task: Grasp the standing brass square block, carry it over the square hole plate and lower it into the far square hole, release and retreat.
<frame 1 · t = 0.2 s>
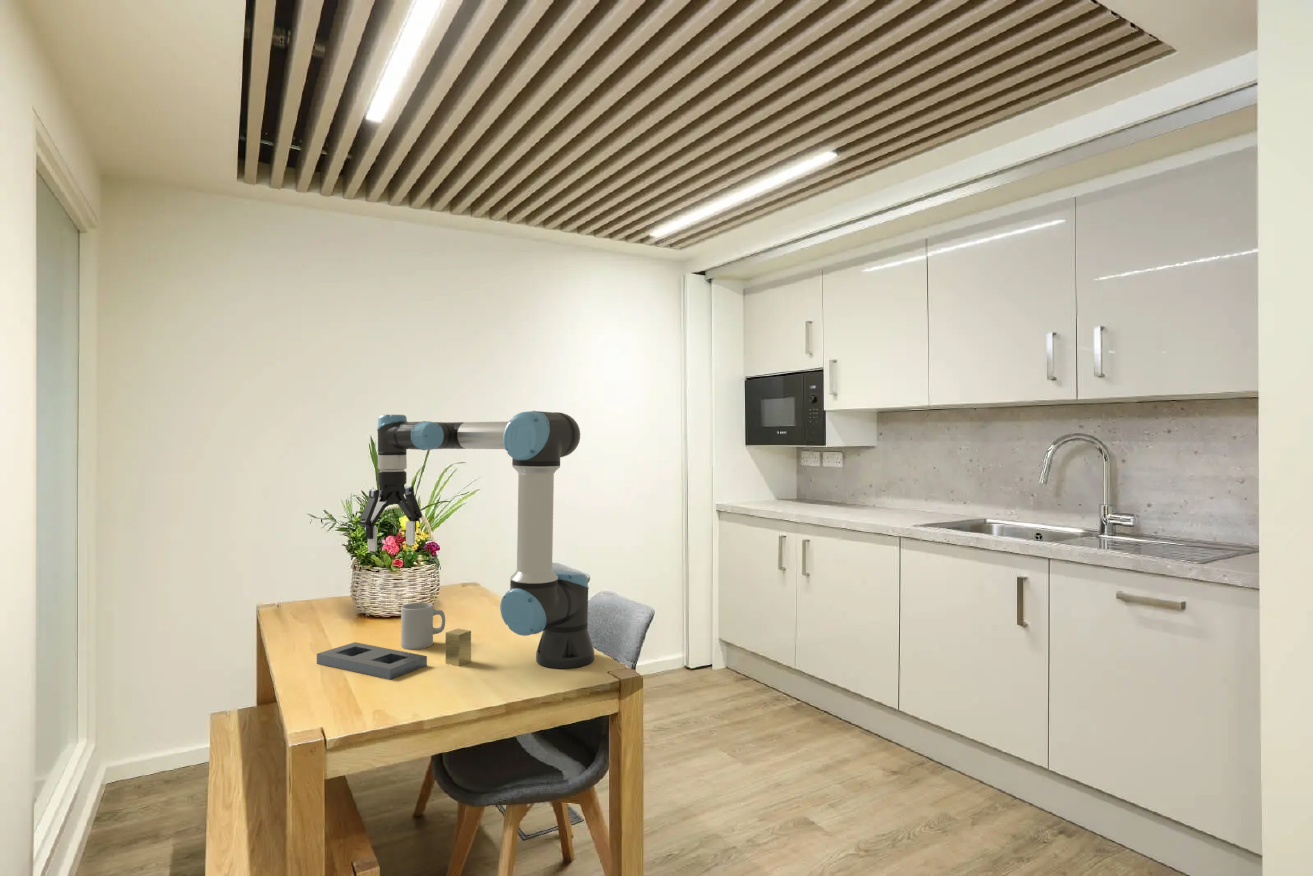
hand: (391, 547, 207), 27 cm above the table, fingers open, 13 cm apart
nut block: (458, 662, 194), on the table
mug: (423, 645, 210), on the table
square hole plate: (371, 664, 192), on the table
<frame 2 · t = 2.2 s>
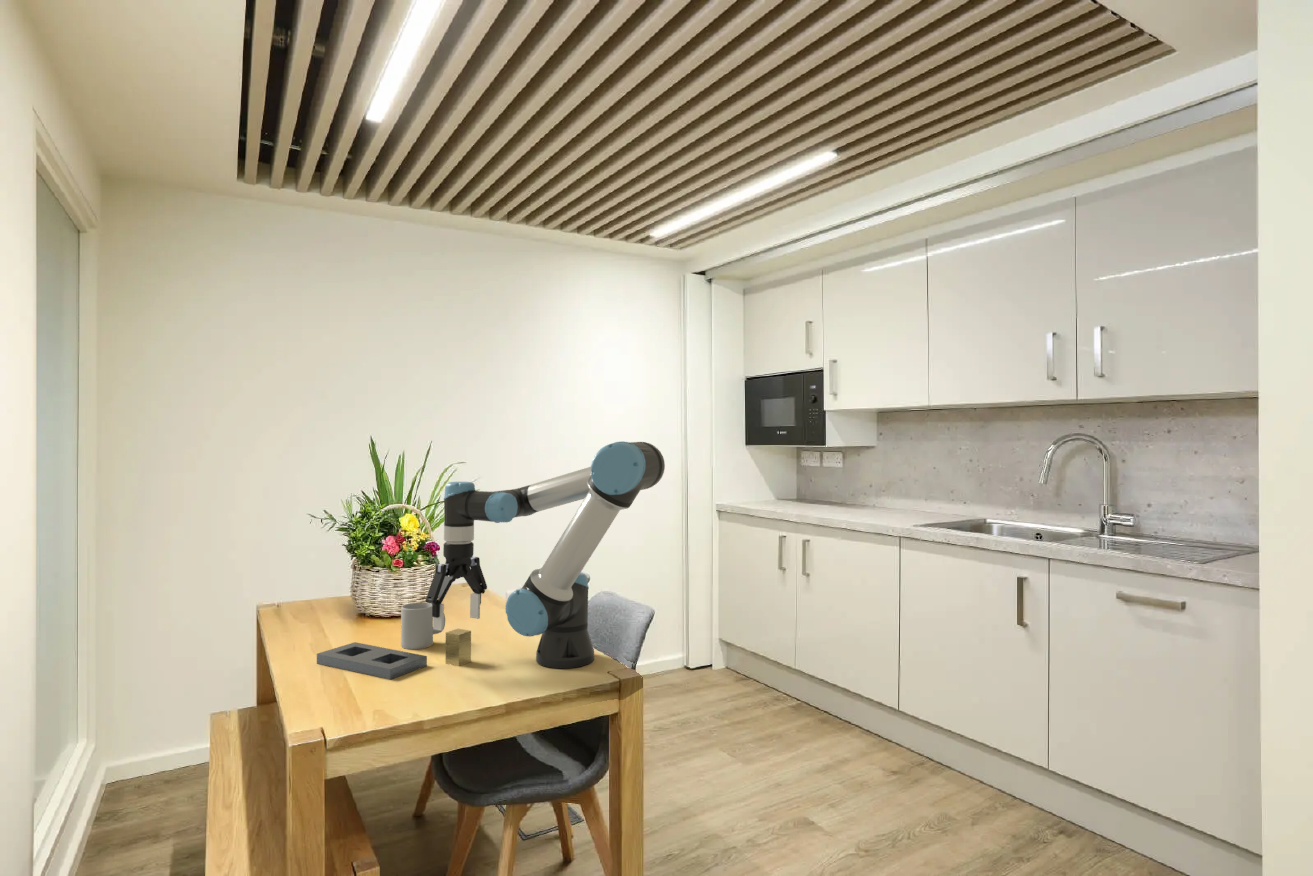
hand: (457, 623, 194), 10 cm above the table, fingers open, 13 cm apart
nothing on the table moved.
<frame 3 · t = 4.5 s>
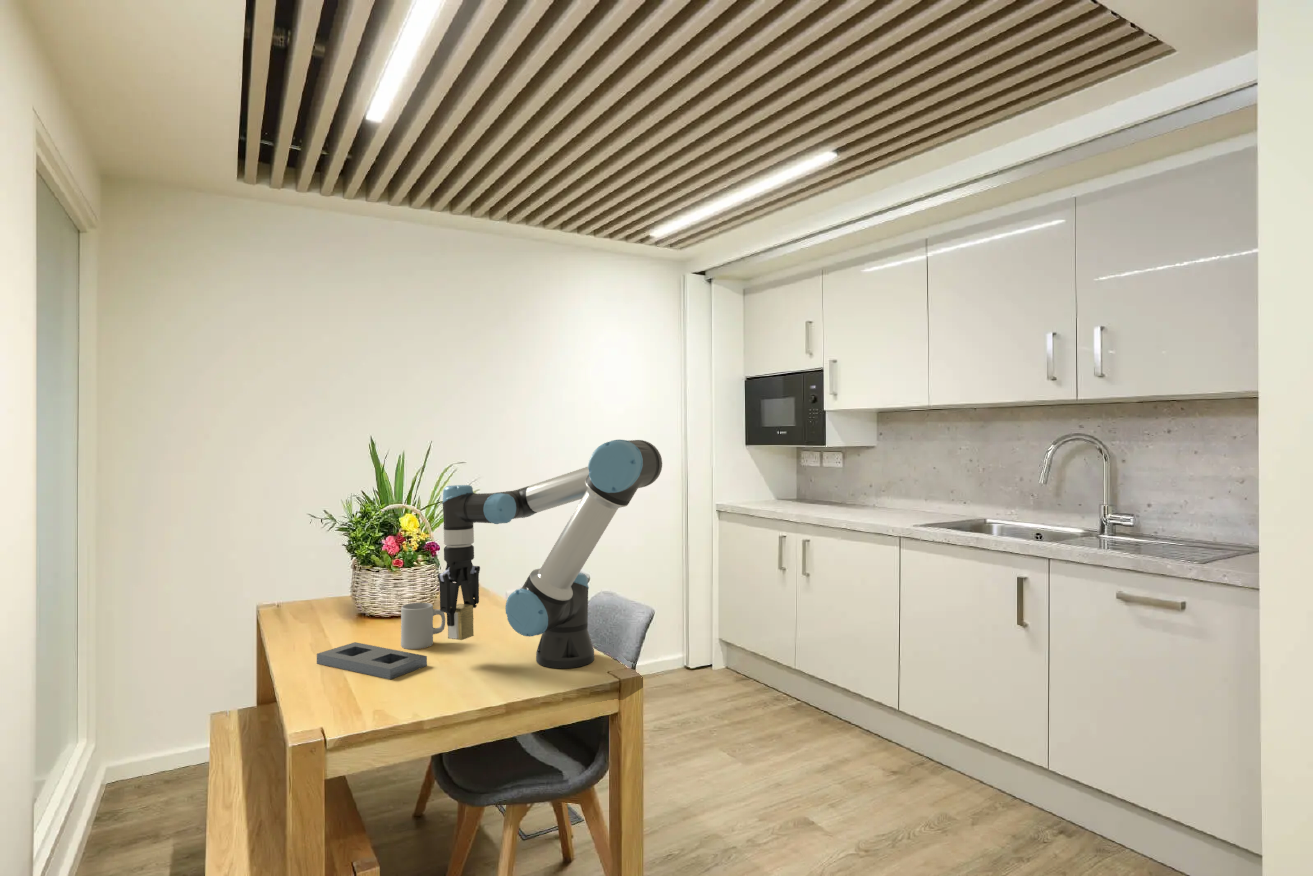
hand: (460, 635, 194), 7 cm above the table, fingers closed on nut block, 4 cm apart
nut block: (460, 637, 194), point 7 cm above the table, touching gripper
everything else where it was.
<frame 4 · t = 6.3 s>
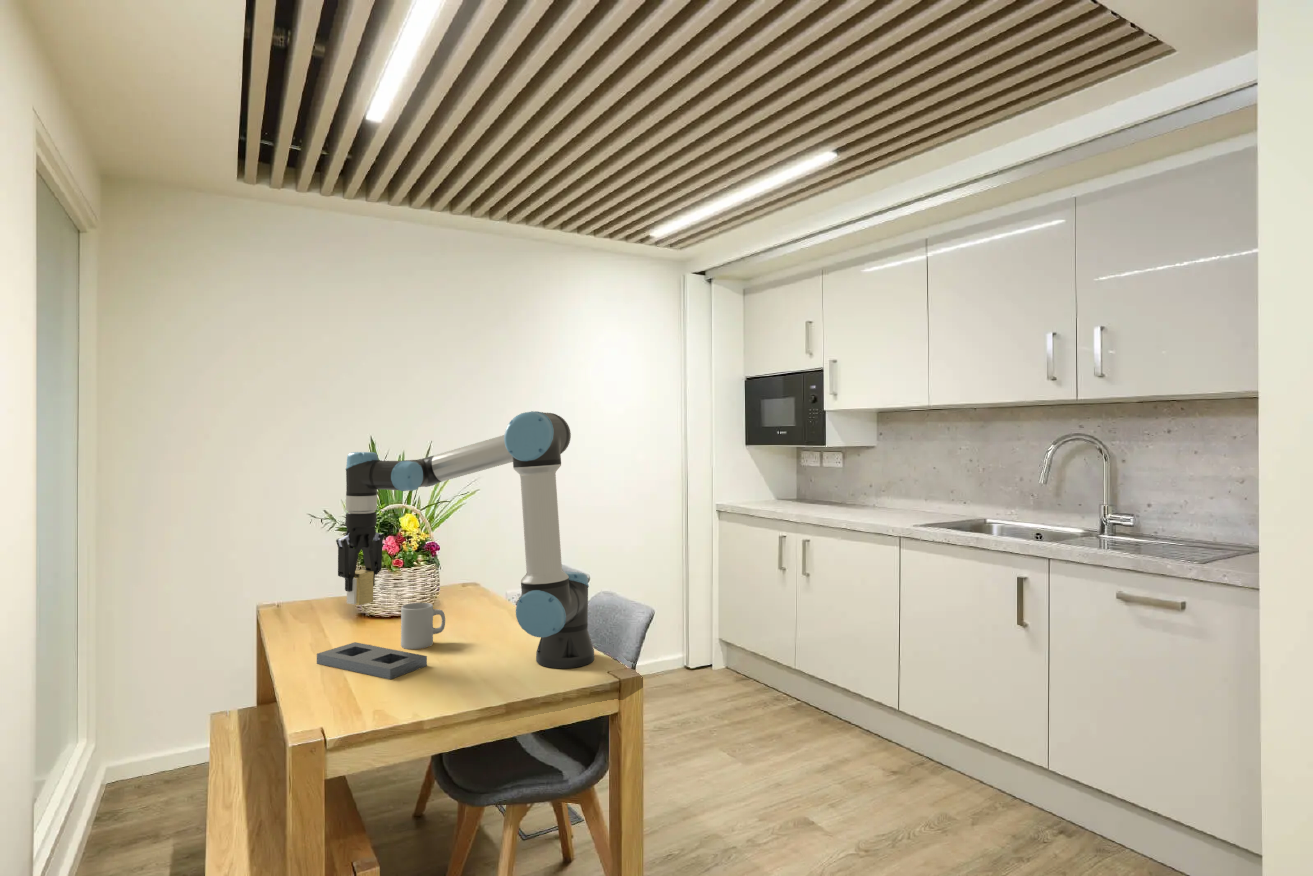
hand: (359, 601, 195), 15 cm above the table, fingers closed on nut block, 4 cm apart
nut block: (360, 602, 195), point 15 cm above the table, touching gripper
everything else where it was.
when the fingers open (3 cm above the table, at t = 8.4 s): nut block drops 3 cm, resting in square hole plate.
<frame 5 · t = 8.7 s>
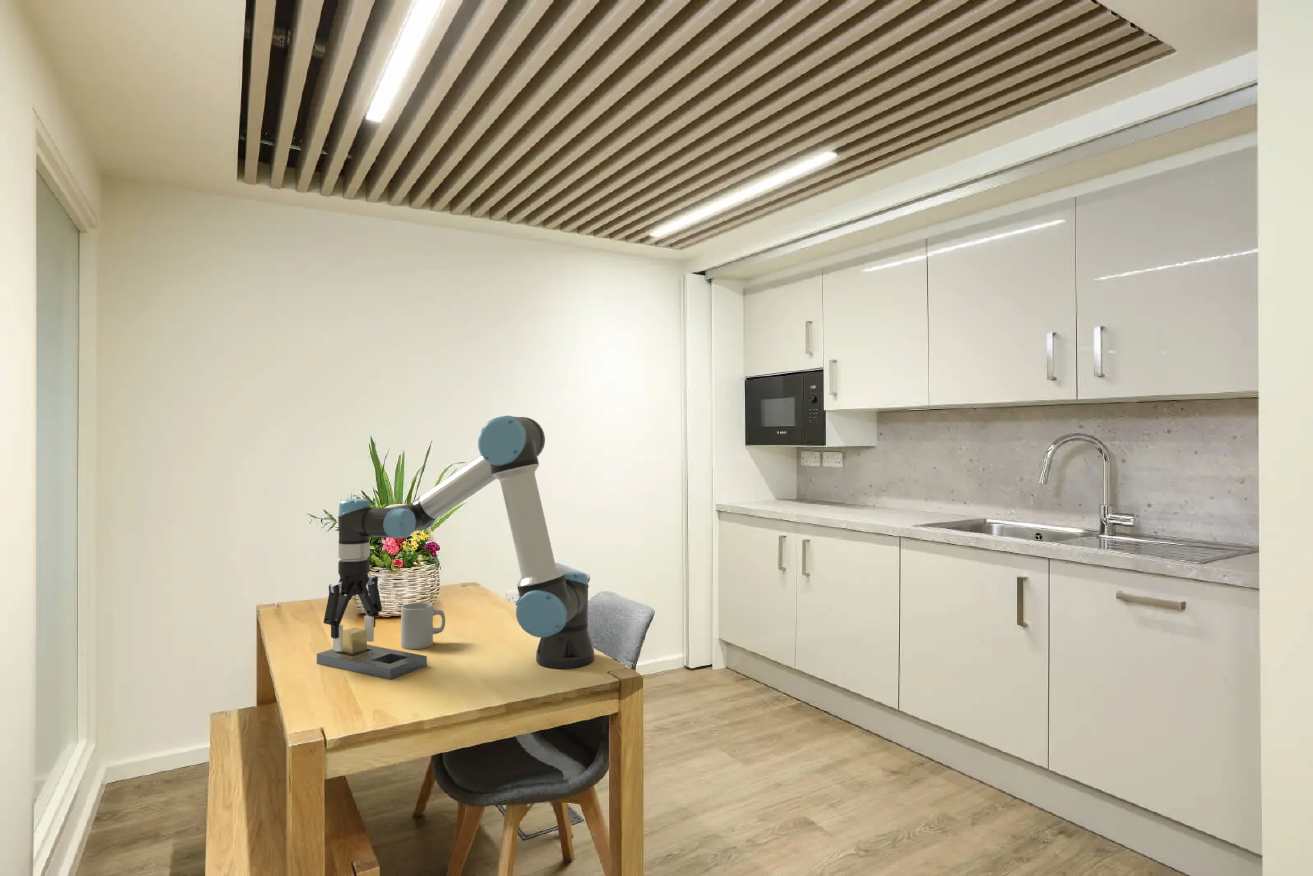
hand: (353, 645, 194), 4 cm above the table, fingers open, 9 cm apart
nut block: (353, 661, 194), resting in square hole plate
everything else where it was.
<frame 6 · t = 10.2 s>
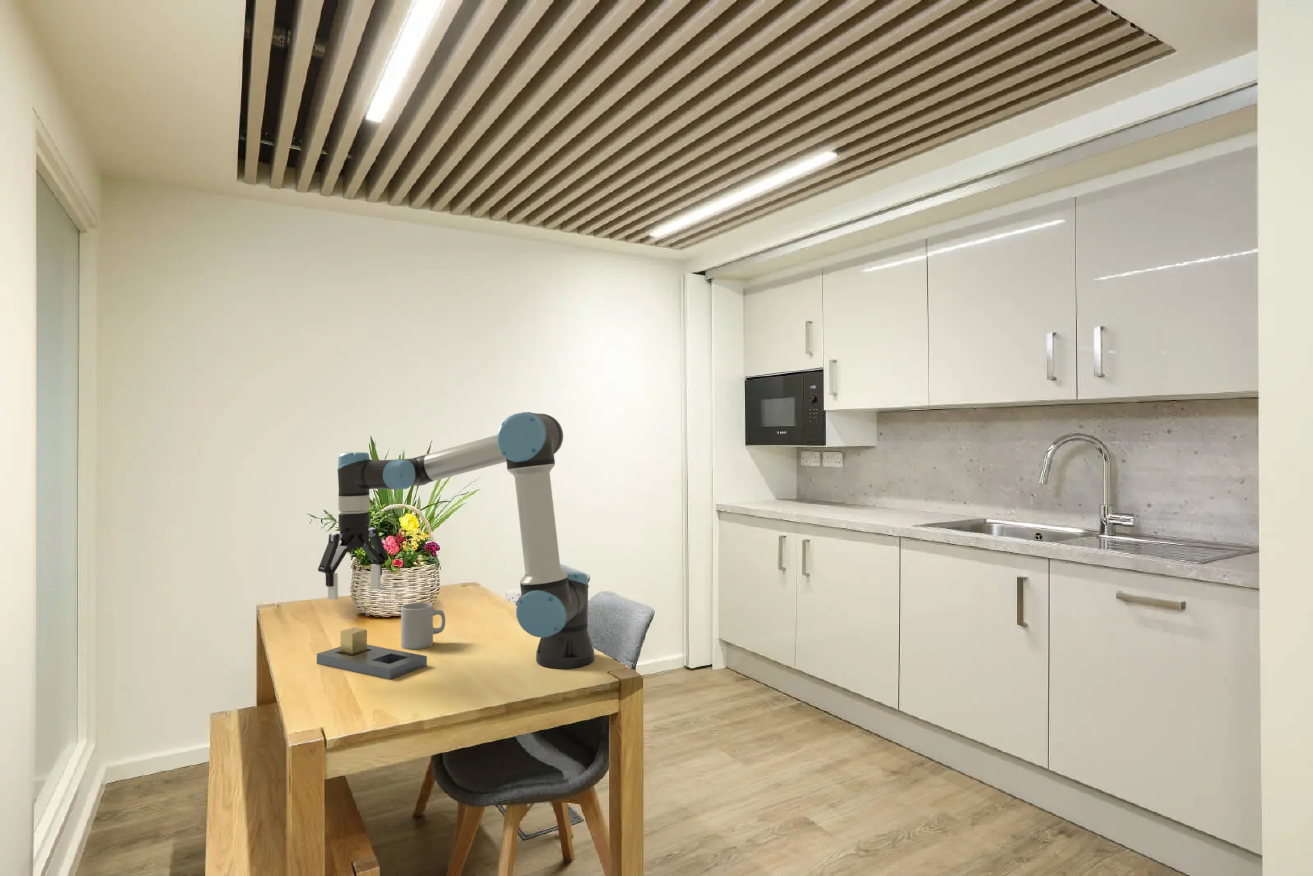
hand: (355, 594, 194), 17 cm above the table, fingers open, 13 cm apart
nothing on the table moved.
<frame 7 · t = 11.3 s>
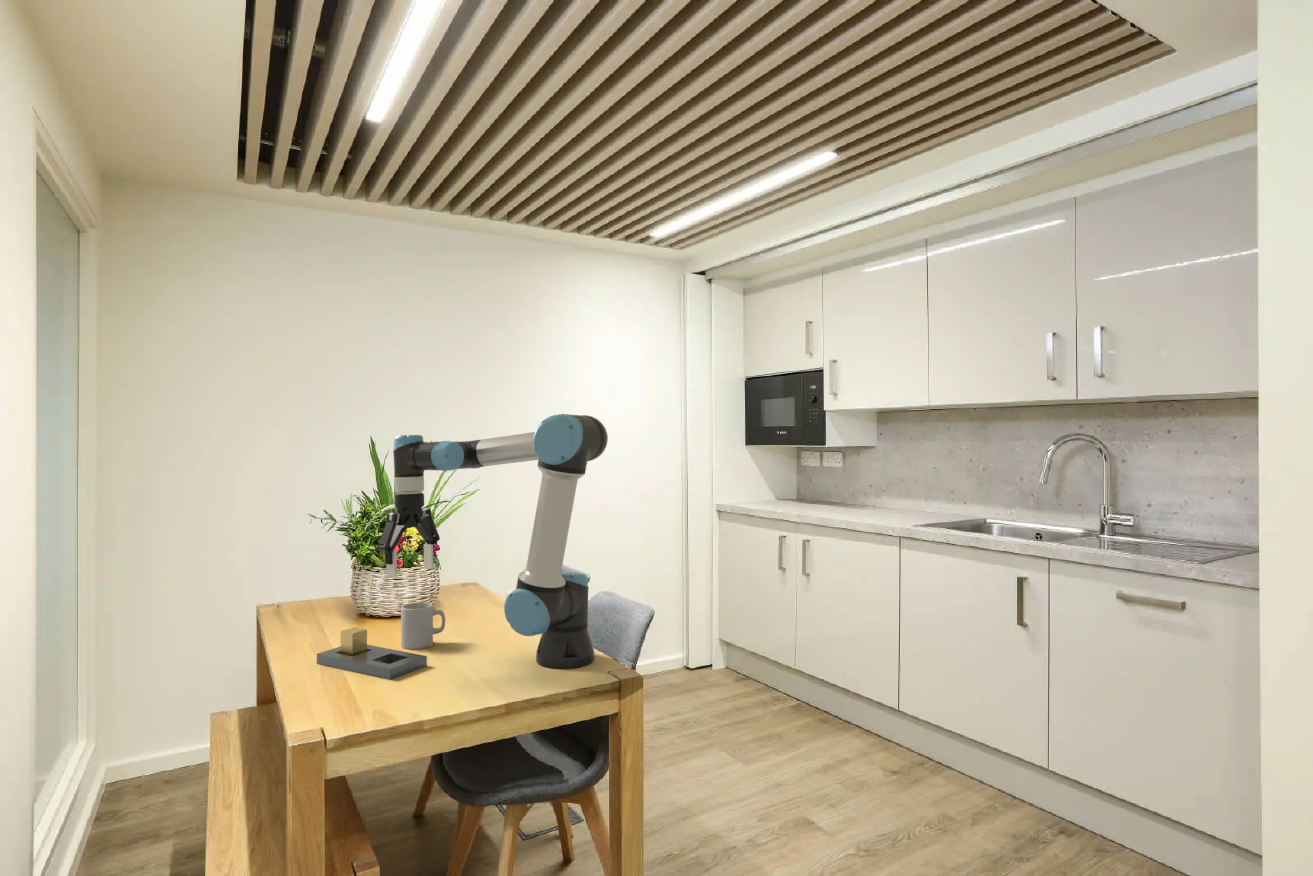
hand: (410, 572, 200), 22 cm above the table, fingers open, 13 cm apart
nothing on the table moved.
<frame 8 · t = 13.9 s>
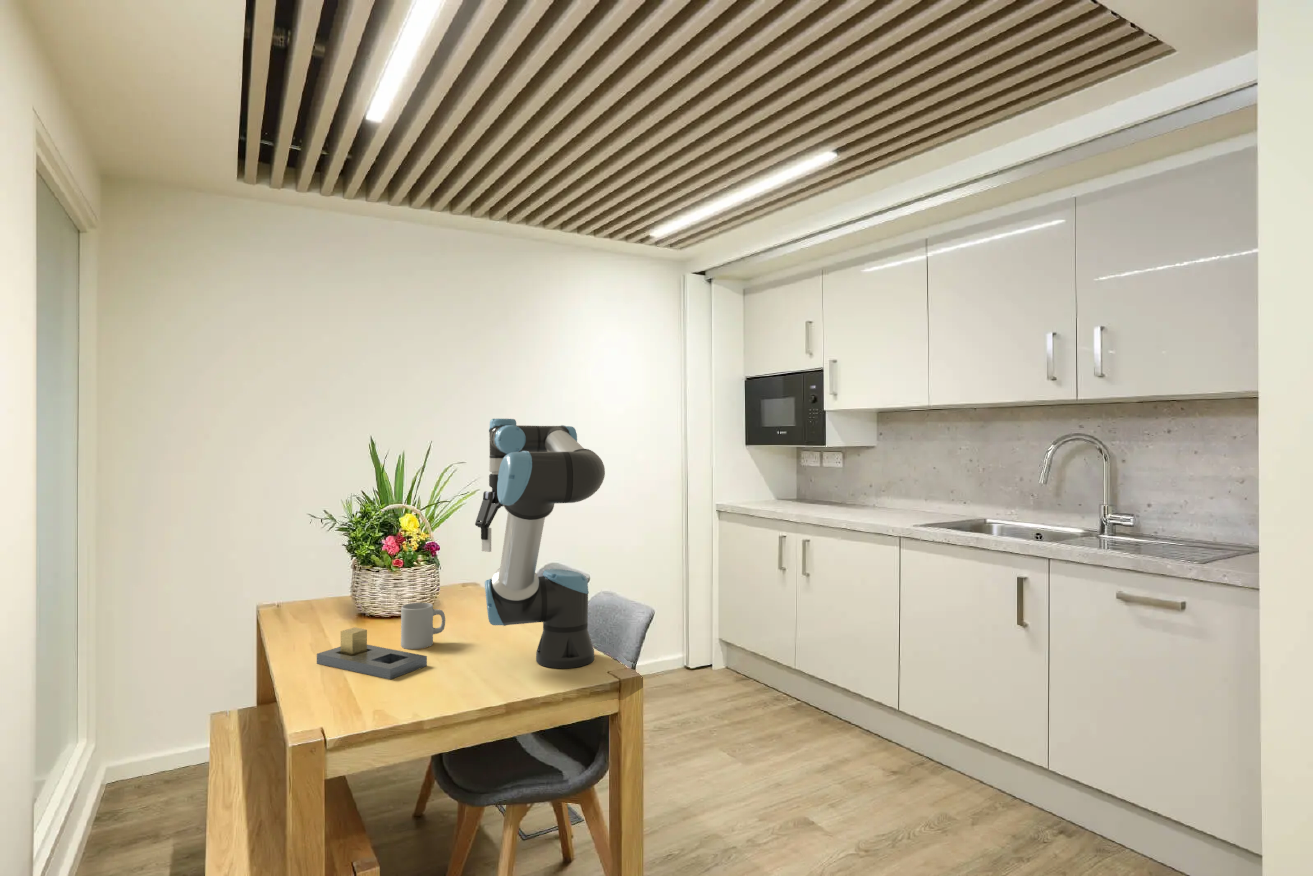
hand: (502, 548, 212), 27 cm above the table, fingers open, 13 cm apart
nothing on the table moved.
at the end: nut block 0.1 cm from the target spot on the square hole plate, point 0.0 cm above the square hole plate's base; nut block tilted 0°; the gripper is holding nothing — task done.
